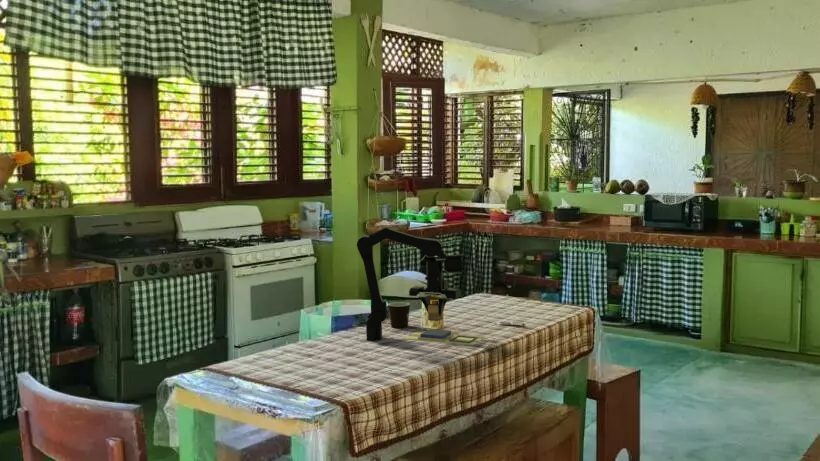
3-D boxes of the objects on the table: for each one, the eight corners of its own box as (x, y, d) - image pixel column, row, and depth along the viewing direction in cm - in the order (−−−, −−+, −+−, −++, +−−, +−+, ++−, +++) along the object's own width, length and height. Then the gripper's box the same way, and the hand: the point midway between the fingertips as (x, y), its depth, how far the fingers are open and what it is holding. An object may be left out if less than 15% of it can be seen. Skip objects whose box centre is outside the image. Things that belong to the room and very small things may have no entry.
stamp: (438, 321, 278) (437, 302, 278) (428, 320, 280) (427, 301, 279) (442, 318, 282) (442, 300, 281) (432, 318, 284) (432, 299, 283)
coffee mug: (401, 332, 295) (400, 307, 294) (384, 330, 300) (383, 305, 299) (419, 326, 304) (418, 302, 303) (402, 324, 309) (401, 300, 308)
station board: (472, 348, 268) (472, 344, 268) (401, 341, 280) (400, 338, 280) (485, 339, 281) (485, 335, 280) (417, 333, 293) (417, 330, 293)
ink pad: (443, 341, 275) (442, 336, 275) (418, 339, 279) (417, 334, 279) (453, 335, 284) (453, 330, 284) (429, 333, 288) (429, 328, 288)
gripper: (466, 271, 282) (466, 312, 284) (420, 269, 291) (421, 309, 292) (454, 276, 273) (455, 318, 274) (407, 273, 281) (408, 315, 282)
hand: (435, 315), depth 281 cm, fingers closed on stamp, 4 cm apart
